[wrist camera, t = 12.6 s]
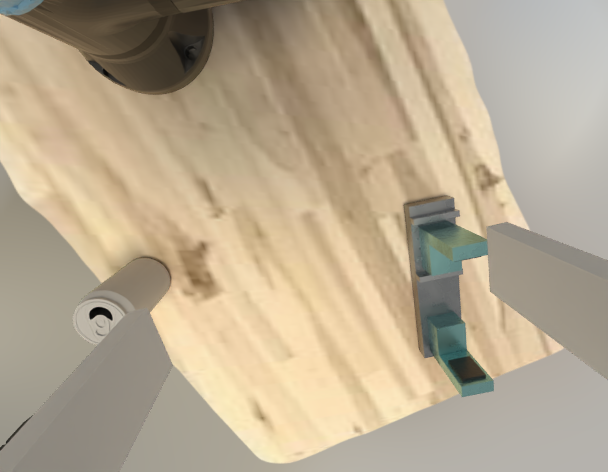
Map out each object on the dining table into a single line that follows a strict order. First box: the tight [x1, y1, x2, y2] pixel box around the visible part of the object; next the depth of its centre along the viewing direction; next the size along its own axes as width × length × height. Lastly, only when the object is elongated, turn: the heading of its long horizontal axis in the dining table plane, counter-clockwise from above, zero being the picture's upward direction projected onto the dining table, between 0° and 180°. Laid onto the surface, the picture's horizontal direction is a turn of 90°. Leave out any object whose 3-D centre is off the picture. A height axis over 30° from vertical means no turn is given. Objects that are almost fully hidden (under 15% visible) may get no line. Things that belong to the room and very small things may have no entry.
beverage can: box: [73, 258, 170, 345], centre depth 38 cm, size 6×6×12 cm
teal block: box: [419, 221, 488, 276], centre depth 38 cm, size 6×4×9 cm, turn 11°
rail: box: [404, 196, 494, 397], centre depth 41 cm, size 24×6×11 cm, turn 11°
